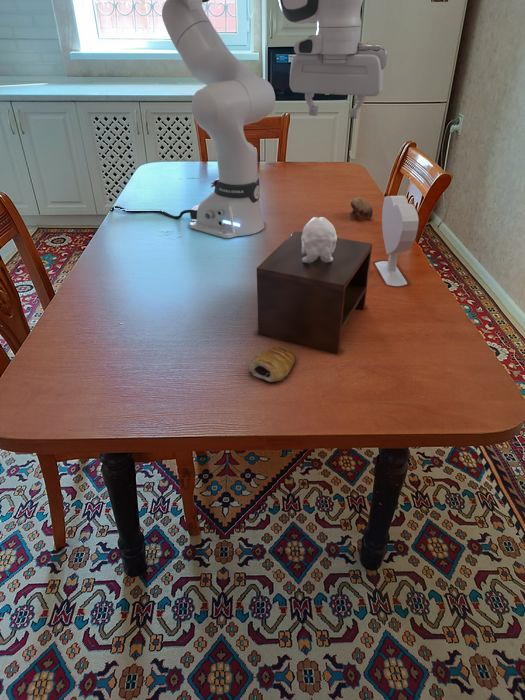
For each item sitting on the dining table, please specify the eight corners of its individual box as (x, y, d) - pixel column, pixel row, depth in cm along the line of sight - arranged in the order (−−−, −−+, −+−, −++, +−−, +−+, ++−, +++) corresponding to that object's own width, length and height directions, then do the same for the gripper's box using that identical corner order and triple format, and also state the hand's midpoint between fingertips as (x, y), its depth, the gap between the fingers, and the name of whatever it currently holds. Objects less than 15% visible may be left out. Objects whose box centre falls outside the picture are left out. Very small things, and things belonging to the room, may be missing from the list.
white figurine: (303, 223, 85) (297, 205, 96) (302, 269, 90) (296, 247, 100) (339, 222, 85) (329, 204, 96) (336, 268, 90) (327, 246, 100)
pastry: (274, 349, 95) (275, 333, 93) (304, 361, 92) (305, 345, 90) (246, 374, 89) (245, 358, 87) (277, 388, 86) (277, 371, 84)
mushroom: (341, 209, 147) (354, 192, 145) (346, 211, 155) (359, 194, 152) (361, 226, 146) (375, 209, 144) (365, 227, 154) (378, 211, 151)
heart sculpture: (410, 287, 115) (424, 213, 104) (389, 288, 114) (400, 214, 104) (391, 258, 127) (402, 189, 117) (372, 259, 127) (381, 190, 116)
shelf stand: (258, 334, 100) (256, 267, 91) (293, 291, 114) (294, 230, 105) (337, 354, 94) (344, 285, 85) (364, 307, 108) (372, 243, 99)
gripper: (391, 42, 99) (383, 117, 107) (298, 41, 106) (296, 111, 114) (384, 45, 94) (375, 122, 102) (287, 43, 102) (286, 116, 110)
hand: (333, 116), depth 108 cm, fingers open, 8 cm apart
